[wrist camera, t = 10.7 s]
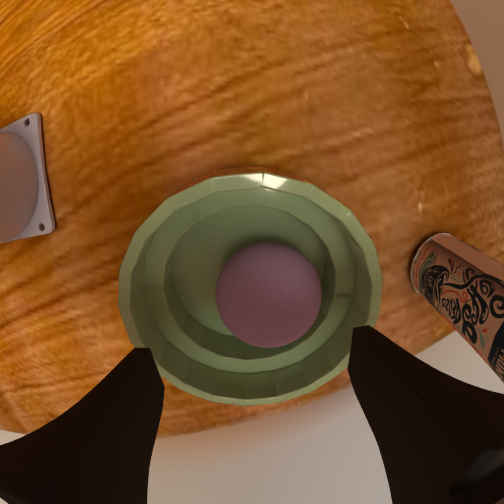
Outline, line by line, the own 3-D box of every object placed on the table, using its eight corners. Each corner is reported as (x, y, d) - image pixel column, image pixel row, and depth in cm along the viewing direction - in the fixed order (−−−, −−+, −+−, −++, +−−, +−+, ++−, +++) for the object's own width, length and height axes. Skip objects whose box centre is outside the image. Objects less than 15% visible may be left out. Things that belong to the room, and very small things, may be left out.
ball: (212, 326, 17) (243, 383, 12) (197, 241, 15) (228, 280, 10) (290, 303, 18) (339, 346, 14) (287, 223, 17) (345, 249, 12)
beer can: (406, 237, 17) (543, 341, 6) (458, 224, 17) (586, 300, 6) (405, 300, 19) (504, 419, 7) (454, 283, 19) (555, 375, 7)
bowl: (171, 356, 19) (157, 408, 15) (130, 181, 15) (90, 196, 11) (342, 339, 20) (365, 387, 15) (347, 159, 15) (388, 166, 11)
